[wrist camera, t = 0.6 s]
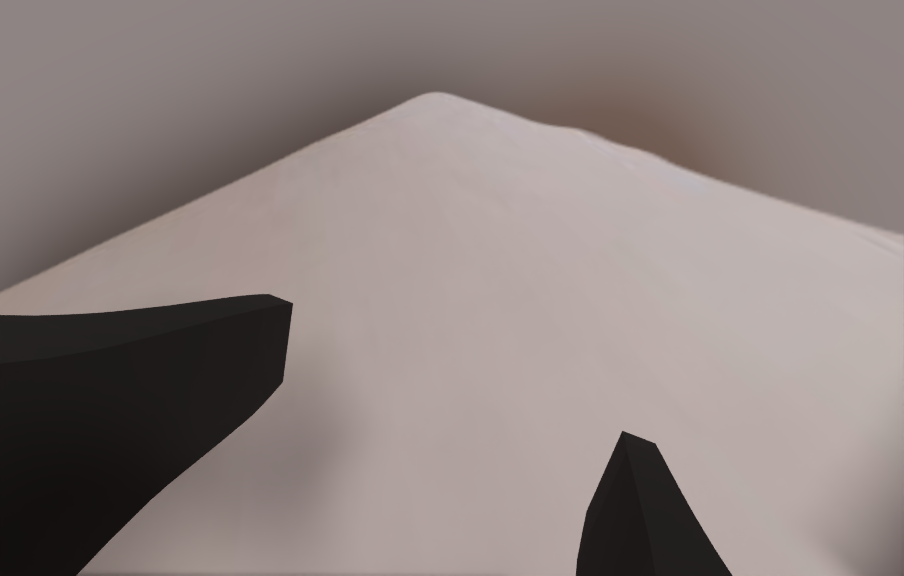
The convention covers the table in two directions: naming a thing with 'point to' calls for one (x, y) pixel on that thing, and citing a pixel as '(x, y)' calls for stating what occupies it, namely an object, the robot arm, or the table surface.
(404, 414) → the table surface
